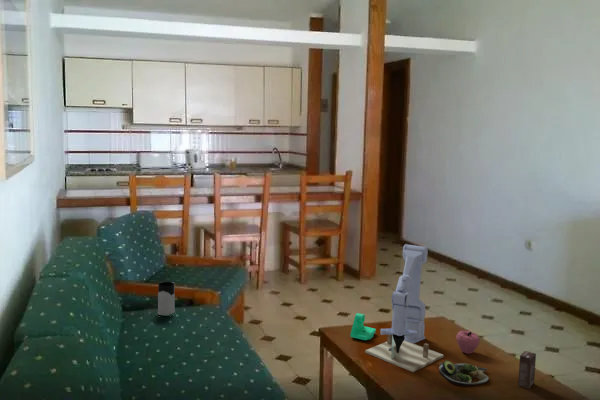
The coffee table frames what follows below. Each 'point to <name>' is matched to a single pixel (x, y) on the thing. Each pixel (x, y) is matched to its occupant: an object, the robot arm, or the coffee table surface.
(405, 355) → the door frame board
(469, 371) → the salad plate
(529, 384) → the box
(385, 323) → the coffee table surface
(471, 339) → the apple
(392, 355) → the door
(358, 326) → the camera mount
